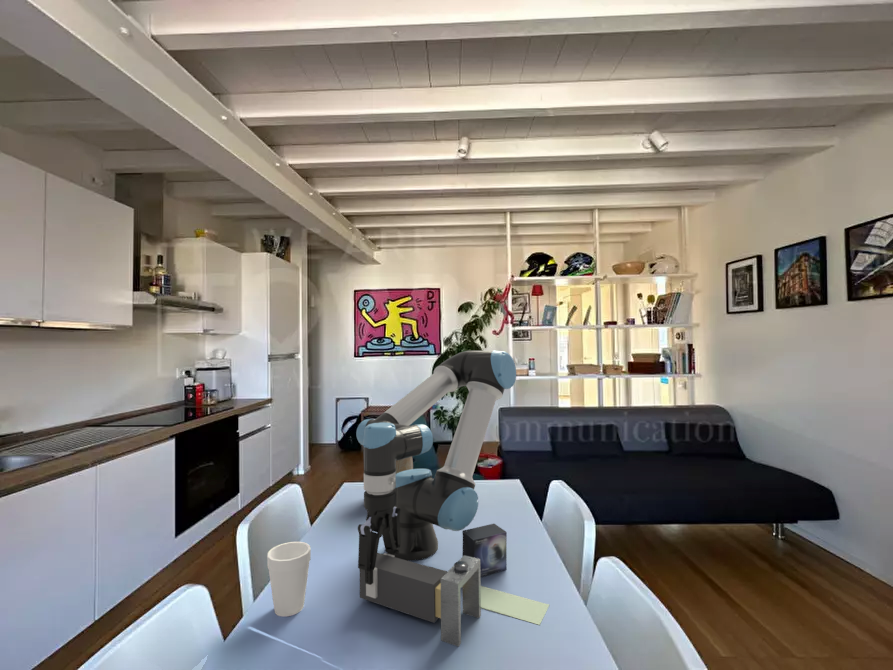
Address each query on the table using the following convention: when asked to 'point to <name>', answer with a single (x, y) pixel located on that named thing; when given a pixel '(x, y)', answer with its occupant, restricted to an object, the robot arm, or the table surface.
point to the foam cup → (289, 576)
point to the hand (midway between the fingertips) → (380, 588)
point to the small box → (486, 548)
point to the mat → (513, 605)
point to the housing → (459, 597)
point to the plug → (406, 587)
